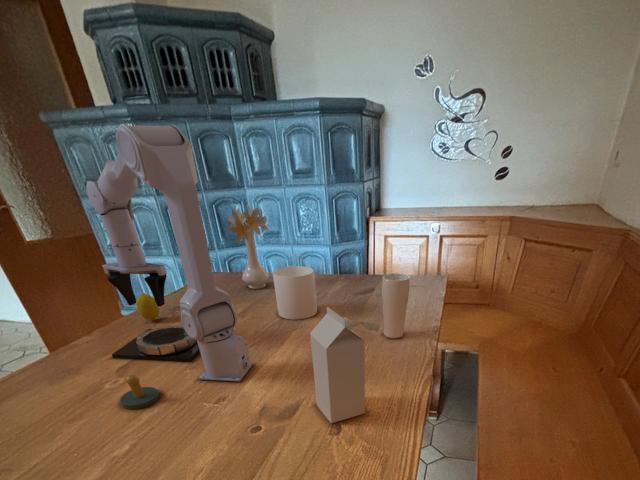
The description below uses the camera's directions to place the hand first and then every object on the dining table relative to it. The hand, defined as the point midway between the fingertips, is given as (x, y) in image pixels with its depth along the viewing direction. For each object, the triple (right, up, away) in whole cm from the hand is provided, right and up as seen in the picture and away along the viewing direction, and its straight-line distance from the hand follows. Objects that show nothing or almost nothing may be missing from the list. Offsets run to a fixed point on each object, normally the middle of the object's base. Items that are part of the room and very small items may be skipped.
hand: (147, 304), depth 94 cm
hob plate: (+3, -9, +4) cm, 11 cm away
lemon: (-9, +1, +18) cm, 20 cm away
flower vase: (+16, +21, +44) cm, 51 cm away
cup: (+34, +5, +22) cm, 41 cm away
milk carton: (+49, -27, -20) cm, 59 cm away
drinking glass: (+62, -6, +8) cm, 62 cm away
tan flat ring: (+4, -9, +2) cm, 10 cm away
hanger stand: (+8, -25, -17) cm, 31 cm away
